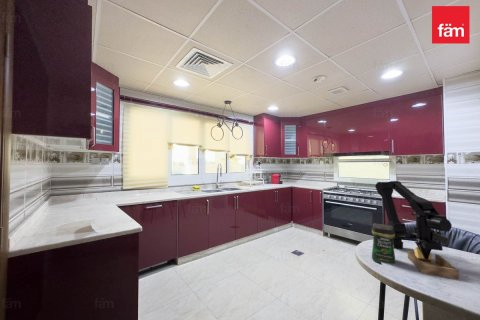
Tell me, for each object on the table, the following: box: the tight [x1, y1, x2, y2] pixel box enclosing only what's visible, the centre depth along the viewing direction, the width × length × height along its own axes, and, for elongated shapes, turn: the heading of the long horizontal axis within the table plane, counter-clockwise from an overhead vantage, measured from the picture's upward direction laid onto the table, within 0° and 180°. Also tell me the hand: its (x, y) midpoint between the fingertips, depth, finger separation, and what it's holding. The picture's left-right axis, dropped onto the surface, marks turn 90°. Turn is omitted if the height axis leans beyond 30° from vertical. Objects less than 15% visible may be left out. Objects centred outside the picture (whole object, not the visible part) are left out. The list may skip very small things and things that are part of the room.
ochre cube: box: [413, 246, 433, 261], centre depth 101 cm, size 5×5×5 cm
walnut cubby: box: [407, 250, 460, 280], centre depth 93 cm, size 12×16×5 cm
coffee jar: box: [371, 222, 396, 265], centre depth 101 cm, size 10×8×19 cm
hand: (426, 259), depth 97 cm, fingers closed
